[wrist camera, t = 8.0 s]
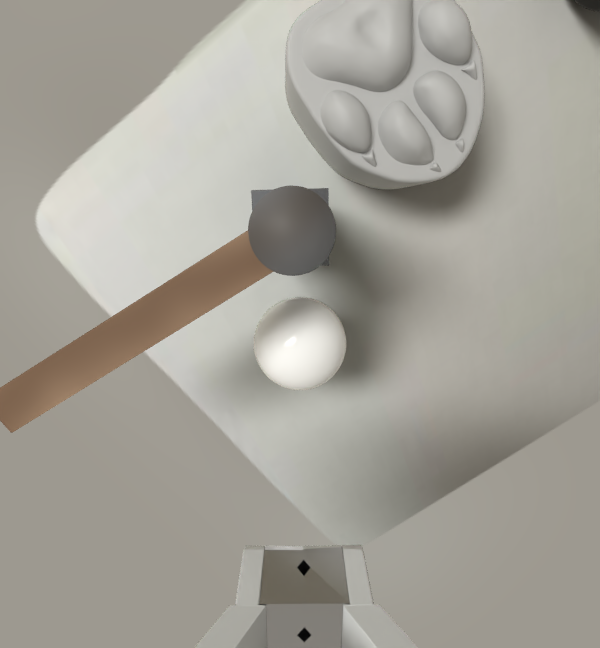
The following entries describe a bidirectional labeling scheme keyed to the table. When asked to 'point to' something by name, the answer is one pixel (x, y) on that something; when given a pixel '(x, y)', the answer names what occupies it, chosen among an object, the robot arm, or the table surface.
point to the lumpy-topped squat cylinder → (386, 88)
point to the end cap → (590, 4)
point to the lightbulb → (300, 343)
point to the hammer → (180, 300)
